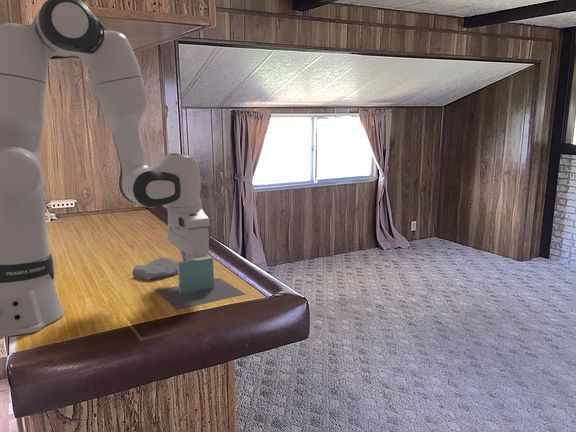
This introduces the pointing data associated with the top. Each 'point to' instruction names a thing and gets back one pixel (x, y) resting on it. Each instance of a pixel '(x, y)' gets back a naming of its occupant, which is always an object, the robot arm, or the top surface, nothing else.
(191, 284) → the tile
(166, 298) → the mat
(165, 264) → the stone block
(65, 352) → the top surface
